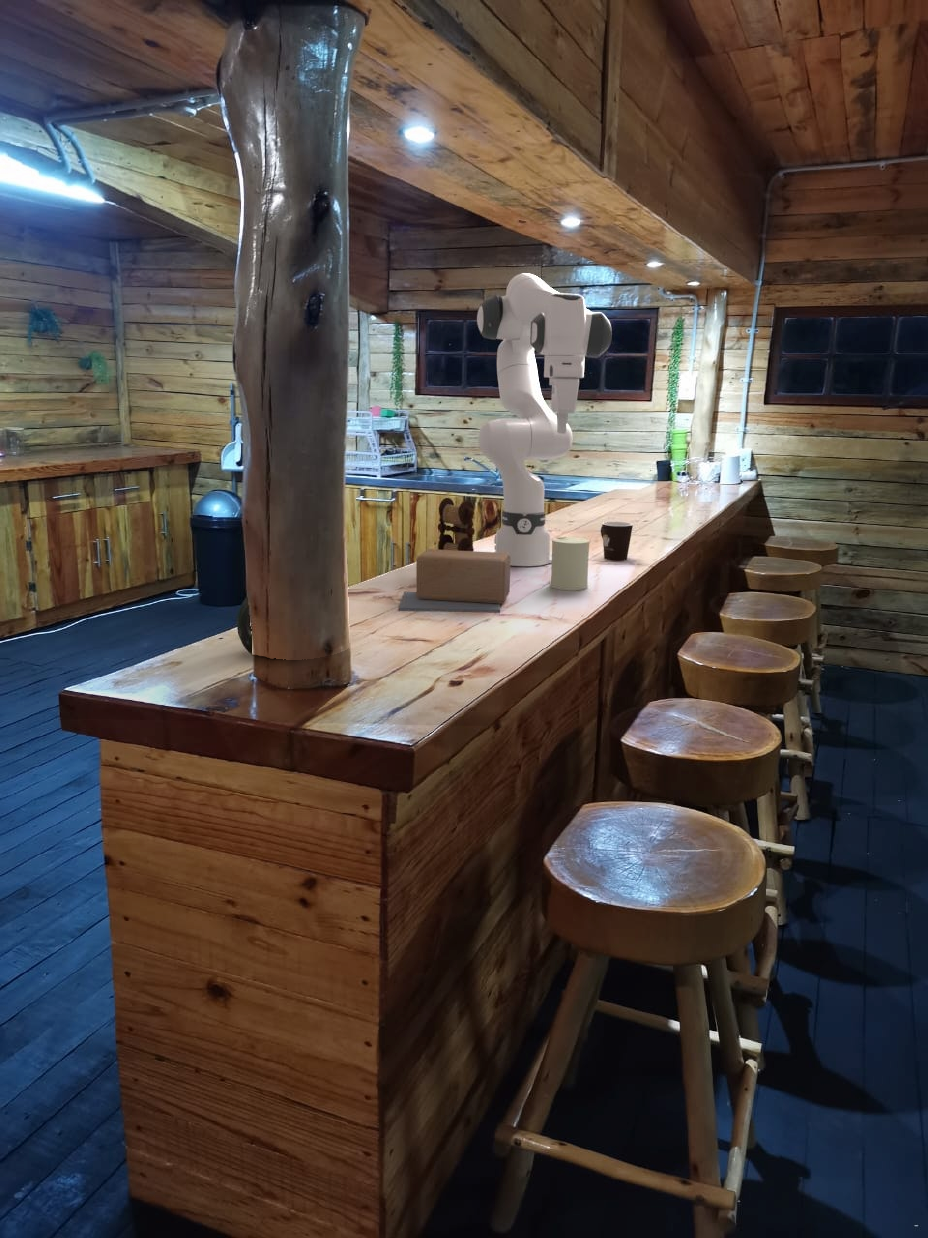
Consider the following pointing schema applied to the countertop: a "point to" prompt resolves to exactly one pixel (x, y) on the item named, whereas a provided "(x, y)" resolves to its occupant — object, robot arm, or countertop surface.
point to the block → (463, 576)
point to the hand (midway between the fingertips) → (561, 433)
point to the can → (569, 563)
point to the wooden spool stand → (456, 525)
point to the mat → (443, 605)
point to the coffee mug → (616, 540)
